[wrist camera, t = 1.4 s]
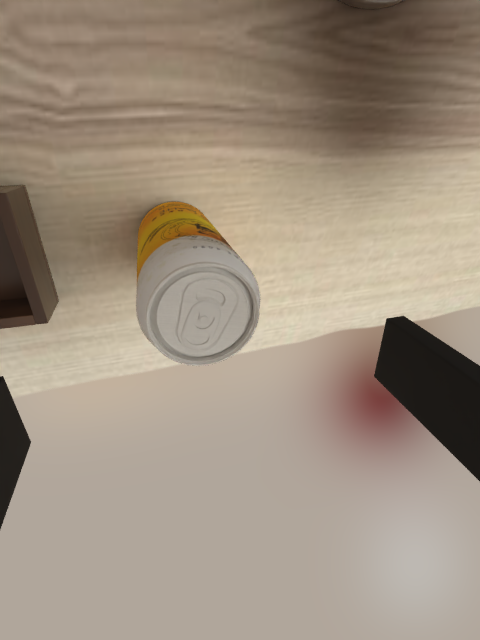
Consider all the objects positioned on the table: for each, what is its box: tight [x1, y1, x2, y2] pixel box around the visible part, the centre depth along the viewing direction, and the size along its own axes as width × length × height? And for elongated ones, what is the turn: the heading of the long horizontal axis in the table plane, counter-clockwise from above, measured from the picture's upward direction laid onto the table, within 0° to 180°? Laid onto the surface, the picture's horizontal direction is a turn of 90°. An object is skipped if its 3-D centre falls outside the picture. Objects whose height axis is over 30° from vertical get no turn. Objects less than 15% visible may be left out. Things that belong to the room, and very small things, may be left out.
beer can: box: [136, 202, 260, 366], centre depth 22 cm, size 6×6×15 cm
